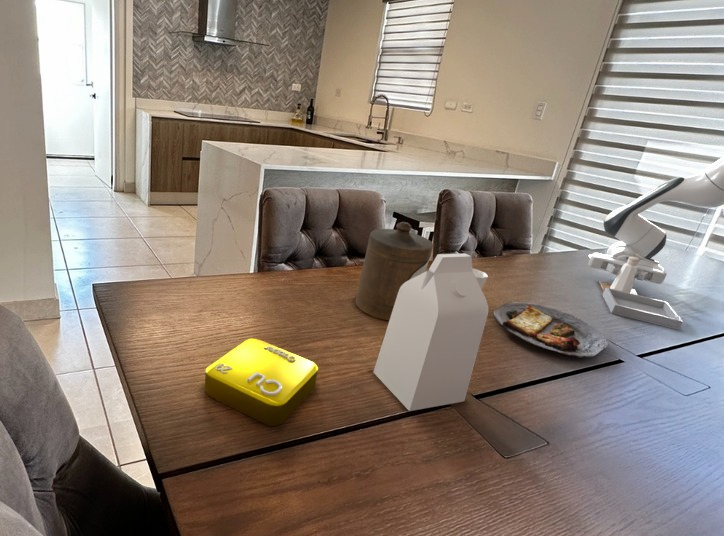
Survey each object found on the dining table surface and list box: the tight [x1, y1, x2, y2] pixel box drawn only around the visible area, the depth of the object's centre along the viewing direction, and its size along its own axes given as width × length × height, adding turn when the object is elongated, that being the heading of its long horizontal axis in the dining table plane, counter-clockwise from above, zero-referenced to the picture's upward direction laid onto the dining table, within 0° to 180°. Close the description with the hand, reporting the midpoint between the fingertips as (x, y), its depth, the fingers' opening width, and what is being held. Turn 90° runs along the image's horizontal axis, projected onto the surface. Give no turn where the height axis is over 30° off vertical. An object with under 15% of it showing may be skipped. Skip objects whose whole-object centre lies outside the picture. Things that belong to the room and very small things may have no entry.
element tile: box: [204, 337, 319, 427], centre depth 80 cm, size 15×15×5 cm
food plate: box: [492, 301, 610, 359], centre depth 113 cm, size 25×23×4 cm
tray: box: [602, 288, 684, 331], centre depth 133 cm, size 16×15×3 cm
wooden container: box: [355, 221, 434, 321], centre depth 113 cm, size 15×15×22 cm
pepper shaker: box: [610, 257, 639, 293], centre depth 145 cm, size 5×5×11 cm
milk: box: [372, 252, 489, 412], centre depth 82 cm, size 12×12×26 cm
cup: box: [472, 268, 489, 291], centre depth 127 cm, size 7×10×8 cm
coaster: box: [598, 281, 639, 295], centre depth 147 cm, size 10×10×1 cm
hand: (627, 274), depth 144 cm, fingers open, 5 cm apart
